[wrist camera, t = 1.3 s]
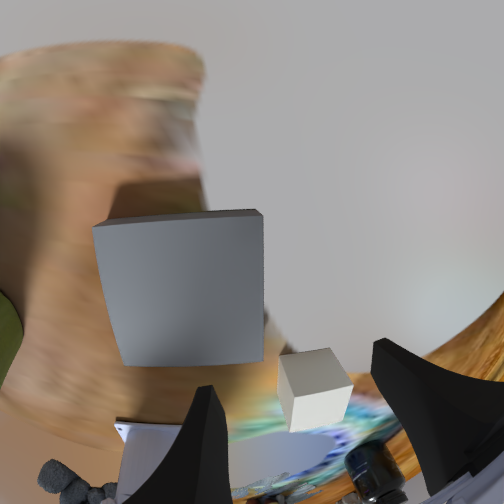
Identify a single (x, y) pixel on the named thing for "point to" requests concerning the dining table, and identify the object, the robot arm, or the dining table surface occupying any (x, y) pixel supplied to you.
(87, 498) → the koala plush
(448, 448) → the robot arm
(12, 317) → the plant pot
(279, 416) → the dining table surface
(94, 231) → the slate slab
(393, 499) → the supplement bottle
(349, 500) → the egg carton
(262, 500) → the stuffed giraffe
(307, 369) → the cream block
